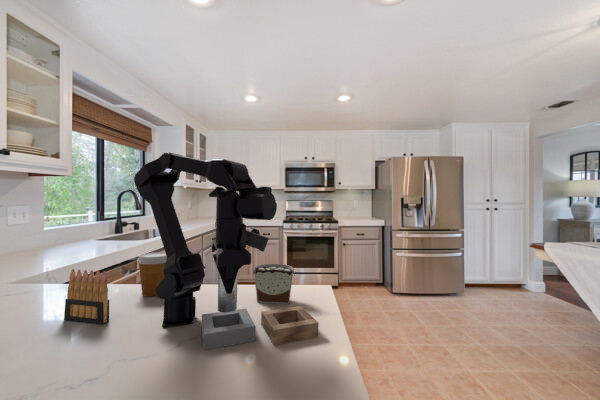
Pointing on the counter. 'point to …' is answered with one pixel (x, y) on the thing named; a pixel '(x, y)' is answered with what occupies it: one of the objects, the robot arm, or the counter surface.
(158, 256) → the disposable coffee cup
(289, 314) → the block
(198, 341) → the counter surface
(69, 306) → the ammunition clip
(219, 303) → the pin
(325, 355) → the counter surface
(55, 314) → the counter surface
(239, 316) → the socket block
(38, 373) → the counter surface
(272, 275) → the food container
